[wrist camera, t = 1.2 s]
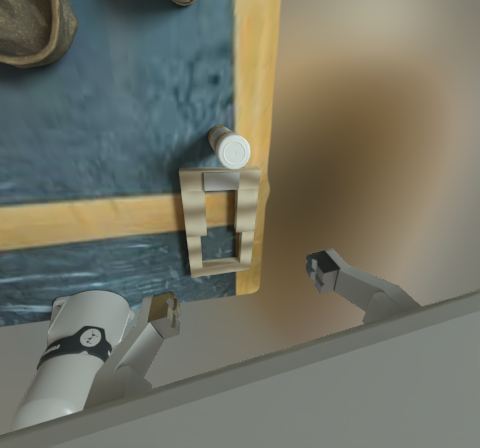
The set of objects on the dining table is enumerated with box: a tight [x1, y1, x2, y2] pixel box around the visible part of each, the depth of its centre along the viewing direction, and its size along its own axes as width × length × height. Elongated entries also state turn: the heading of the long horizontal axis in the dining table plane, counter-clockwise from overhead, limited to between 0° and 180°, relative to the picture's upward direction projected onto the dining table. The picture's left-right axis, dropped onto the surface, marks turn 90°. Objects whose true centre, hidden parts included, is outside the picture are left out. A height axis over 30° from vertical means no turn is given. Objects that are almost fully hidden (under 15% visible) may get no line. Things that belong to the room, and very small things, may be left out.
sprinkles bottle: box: [208, 126, 250, 170], centre depth 31 cm, size 5×5×14 cm
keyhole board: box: [179, 167, 260, 277], centre depth 45 cm, size 28×16×3 cm, turn 177°
